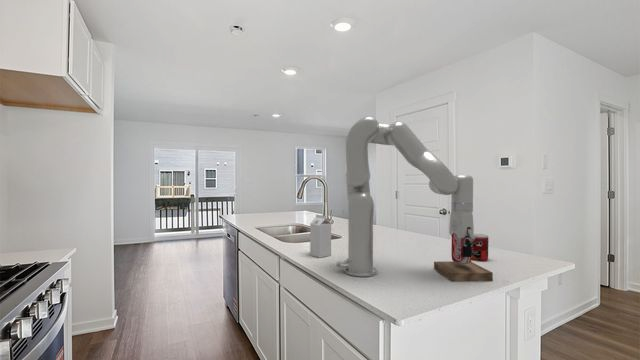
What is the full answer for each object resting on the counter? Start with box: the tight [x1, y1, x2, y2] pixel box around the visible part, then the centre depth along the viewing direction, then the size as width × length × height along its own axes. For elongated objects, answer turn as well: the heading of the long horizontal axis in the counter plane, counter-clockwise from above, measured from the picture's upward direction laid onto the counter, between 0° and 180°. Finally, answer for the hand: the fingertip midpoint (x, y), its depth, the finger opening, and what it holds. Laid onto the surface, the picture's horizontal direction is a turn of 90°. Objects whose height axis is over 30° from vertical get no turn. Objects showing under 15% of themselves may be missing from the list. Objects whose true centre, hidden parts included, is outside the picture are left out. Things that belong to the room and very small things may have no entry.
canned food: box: [471, 233, 489, 262], centre depth 140 cm, size 8×8×11 cm
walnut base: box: [433, 260, 494, 283], centre depth 118 cm, size 15×15×3 cm
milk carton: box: [309, 214, 332, 259], centre depth 146 cm, size 7×7×19 cm
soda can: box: [450, 231, 472, 264], centre depth 118 cm, size 7×7×12 cm
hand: (461, 253), depth 118 cm, fingers closed on soda can, 7 cm apart
